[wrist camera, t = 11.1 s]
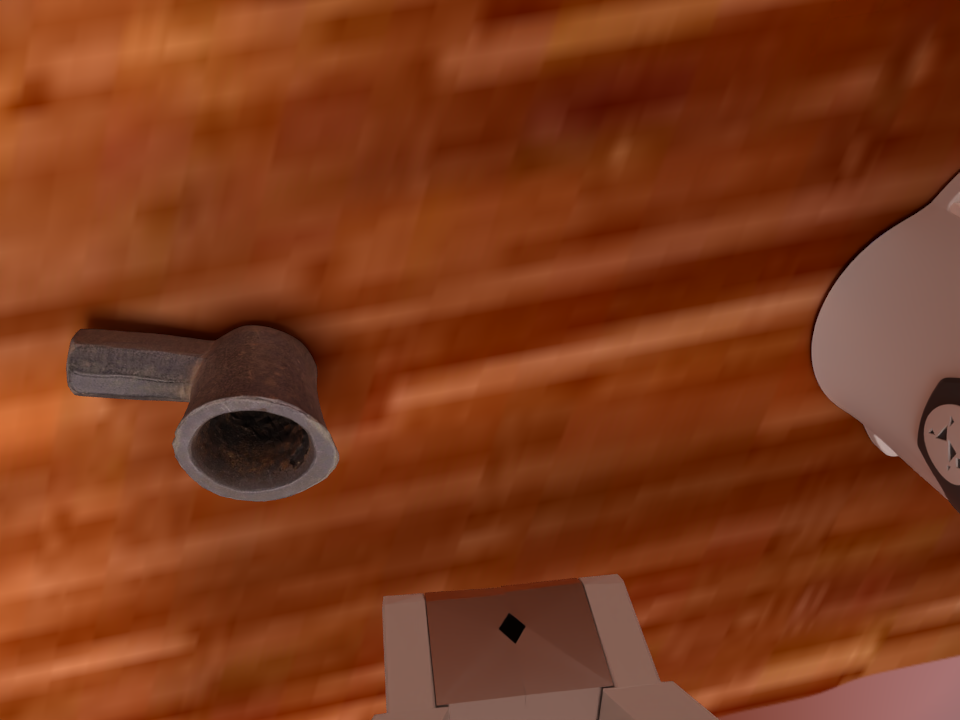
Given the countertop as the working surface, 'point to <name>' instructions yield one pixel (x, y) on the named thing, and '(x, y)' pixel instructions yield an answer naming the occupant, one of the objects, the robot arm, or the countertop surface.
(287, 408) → the pipe
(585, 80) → the countertop surface
